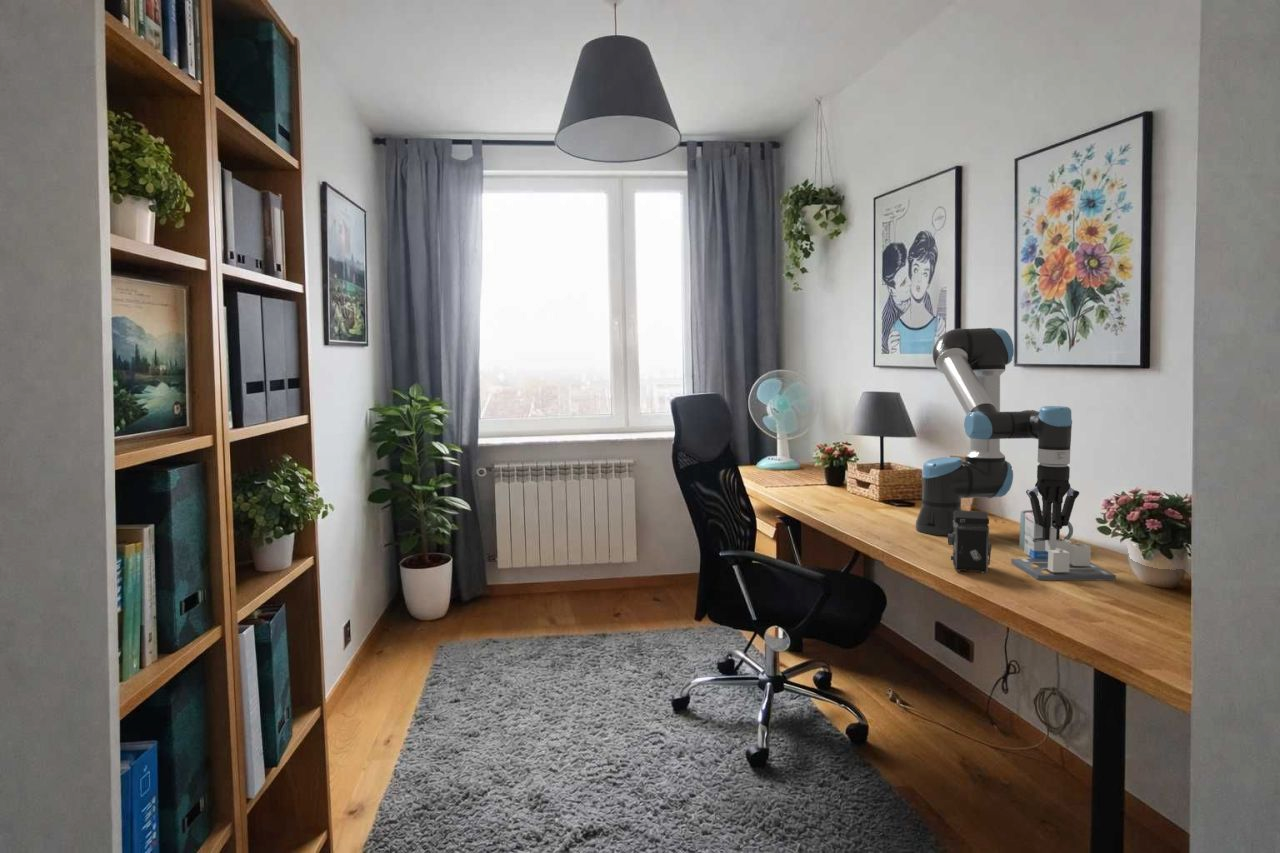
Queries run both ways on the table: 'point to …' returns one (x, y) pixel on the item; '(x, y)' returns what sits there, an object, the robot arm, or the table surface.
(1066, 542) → the tab
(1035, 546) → the ink box
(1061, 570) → the tab
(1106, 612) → the table surface
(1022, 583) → the table surface
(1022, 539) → the mug
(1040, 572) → the grey flat board
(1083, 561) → the tab
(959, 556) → the camera
